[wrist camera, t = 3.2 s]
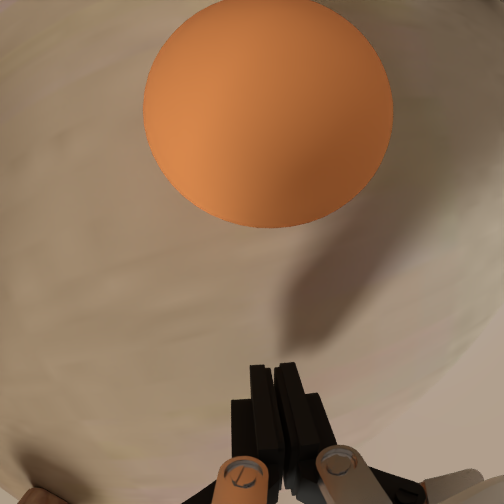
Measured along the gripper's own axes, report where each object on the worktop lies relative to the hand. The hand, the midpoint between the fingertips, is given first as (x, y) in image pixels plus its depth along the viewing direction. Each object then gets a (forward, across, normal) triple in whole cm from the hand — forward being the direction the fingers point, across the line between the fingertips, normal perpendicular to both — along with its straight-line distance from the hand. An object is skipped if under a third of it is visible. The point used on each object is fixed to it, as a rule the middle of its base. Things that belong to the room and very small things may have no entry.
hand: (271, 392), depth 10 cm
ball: (-1, 0, -10) cm, 10 cm away
